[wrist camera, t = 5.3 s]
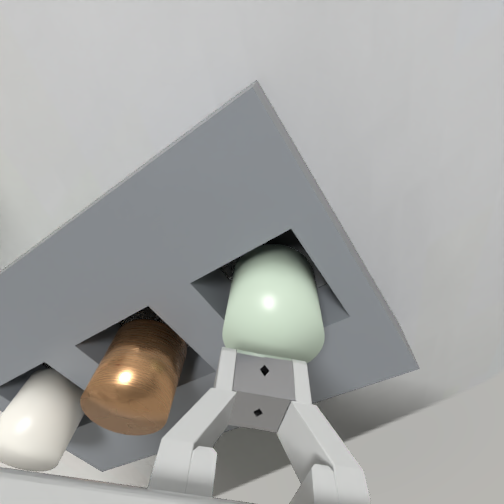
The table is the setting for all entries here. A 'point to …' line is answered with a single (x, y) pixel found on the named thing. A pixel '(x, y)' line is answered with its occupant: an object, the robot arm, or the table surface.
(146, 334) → the brown rounded piece
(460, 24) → the table surface
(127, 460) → the grey socket tray
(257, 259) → the sage key
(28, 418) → the ivory key
